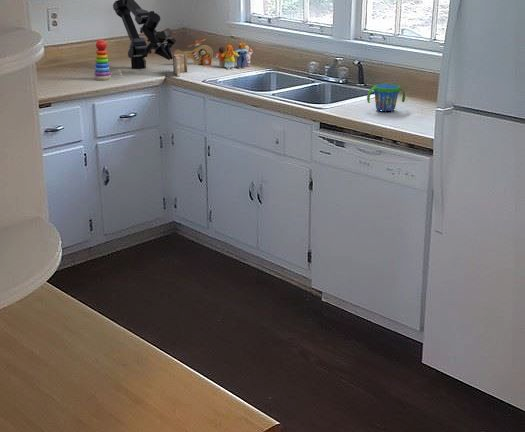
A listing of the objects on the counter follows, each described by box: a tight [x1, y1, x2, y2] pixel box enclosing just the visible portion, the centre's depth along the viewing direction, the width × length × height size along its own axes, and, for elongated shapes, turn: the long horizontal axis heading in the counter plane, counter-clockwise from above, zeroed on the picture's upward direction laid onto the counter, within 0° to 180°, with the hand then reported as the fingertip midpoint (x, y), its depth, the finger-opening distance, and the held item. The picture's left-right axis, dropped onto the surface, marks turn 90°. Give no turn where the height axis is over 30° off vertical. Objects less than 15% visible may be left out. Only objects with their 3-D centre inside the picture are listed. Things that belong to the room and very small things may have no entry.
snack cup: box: [366, 83, 406, 111], centre depth 330 cm, size 16×10×10 cm
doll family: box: [215, 42, 254, 71], centre depth 415 cm, size 21×10×13 cm, turn 115°
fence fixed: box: [177, 53, 188, 73], centre depth 403 cm, size 4×2×9 cm, turn 105°
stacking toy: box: [93, 39, 112, 81], centre depth 388 cm, size 8×8×19 cm
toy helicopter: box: [173, 38, 214, 66], centre depth 423 cm, size 8×21×14 cm, turn 96°
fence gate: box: [172, 52, 181, 77], centre depth 397 cm, size 12×2×9 cm, turn 14°
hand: (171, 59), depth 395 cm, fingers closed
